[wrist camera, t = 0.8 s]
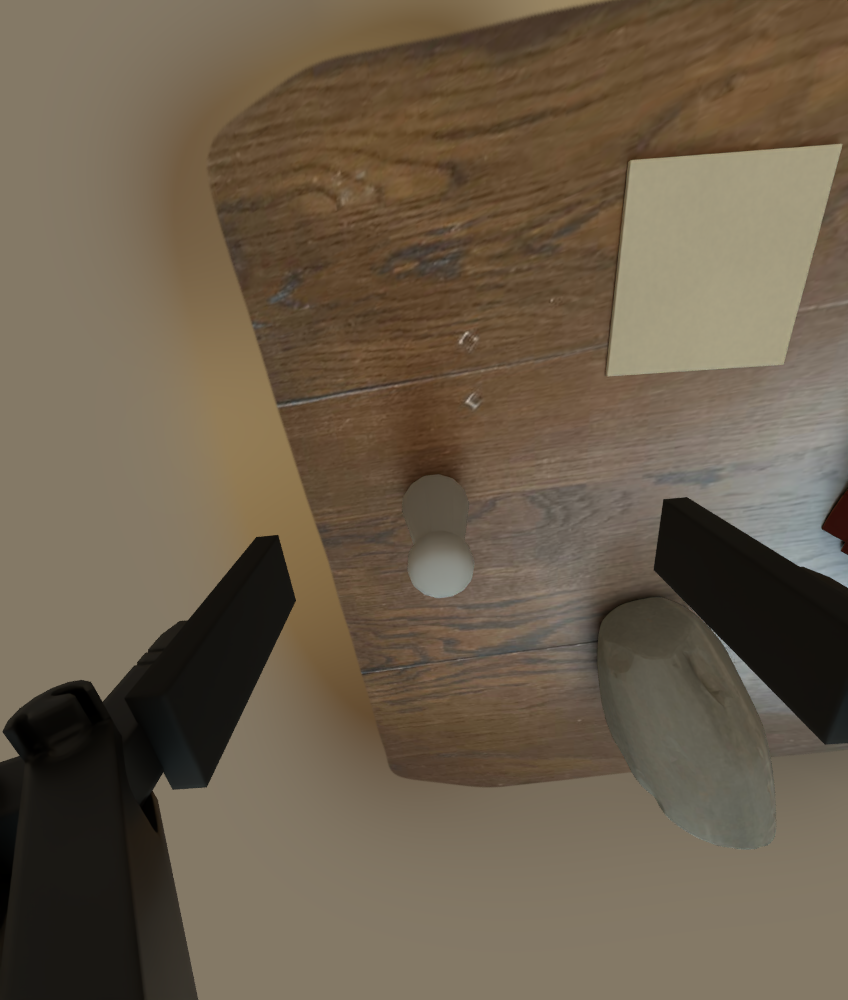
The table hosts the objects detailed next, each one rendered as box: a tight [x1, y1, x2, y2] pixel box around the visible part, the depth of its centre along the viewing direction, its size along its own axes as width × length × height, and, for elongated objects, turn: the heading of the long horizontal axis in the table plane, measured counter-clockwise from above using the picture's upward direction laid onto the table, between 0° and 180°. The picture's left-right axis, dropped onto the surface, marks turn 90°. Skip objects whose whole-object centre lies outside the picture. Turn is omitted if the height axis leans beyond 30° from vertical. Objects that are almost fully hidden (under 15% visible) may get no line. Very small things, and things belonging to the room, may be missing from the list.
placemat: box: [606, 144, 842, 376], centre depth 30 cm, size 14×14×1 cm
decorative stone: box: [597, 597, 776, 849], centre depth 37 cm, size 12×17×15 cm
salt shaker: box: [402, 474, 474, 598], centre depth 31 cm, size 6×6×13 cm
